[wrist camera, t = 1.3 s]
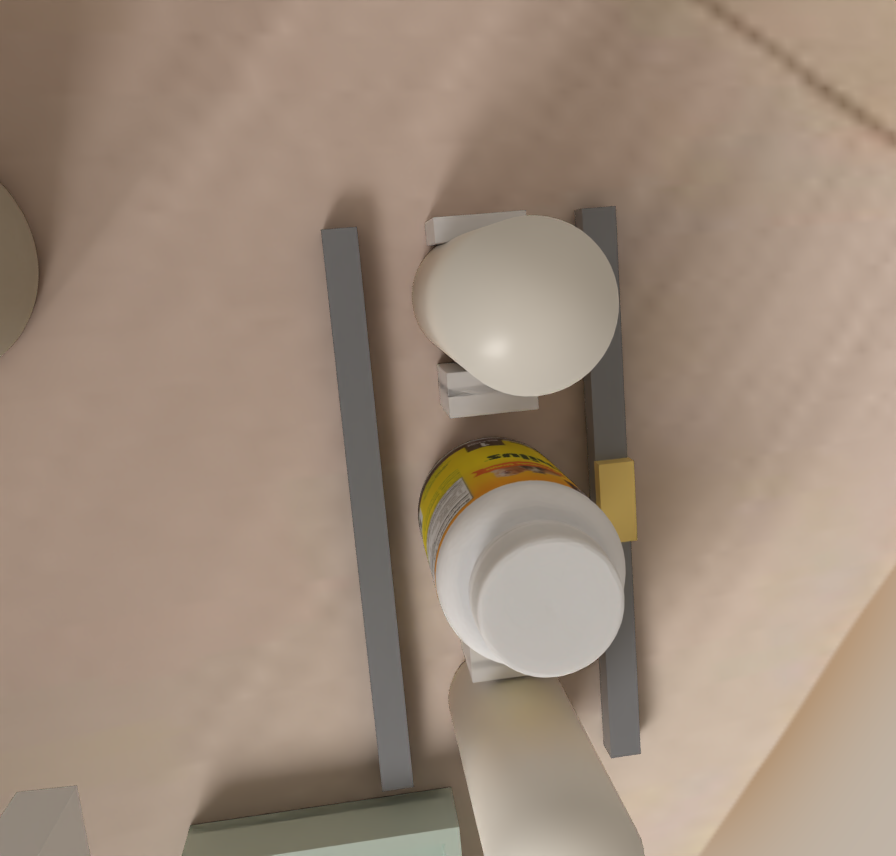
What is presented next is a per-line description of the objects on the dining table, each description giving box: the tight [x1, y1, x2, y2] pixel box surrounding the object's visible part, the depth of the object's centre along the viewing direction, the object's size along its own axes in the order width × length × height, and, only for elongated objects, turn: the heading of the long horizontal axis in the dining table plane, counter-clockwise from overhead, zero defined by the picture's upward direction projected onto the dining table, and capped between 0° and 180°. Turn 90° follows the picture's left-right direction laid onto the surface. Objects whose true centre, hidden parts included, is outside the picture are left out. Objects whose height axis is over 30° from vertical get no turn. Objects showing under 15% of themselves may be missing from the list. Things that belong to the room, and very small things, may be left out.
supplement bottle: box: [418, 437, 626, 678], centre depth 27 cm, size 6×6×10 cm
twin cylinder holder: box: [321, 206, 645, 856], centre depth 27 cm, size 21×10×10 cm, turn 5°
